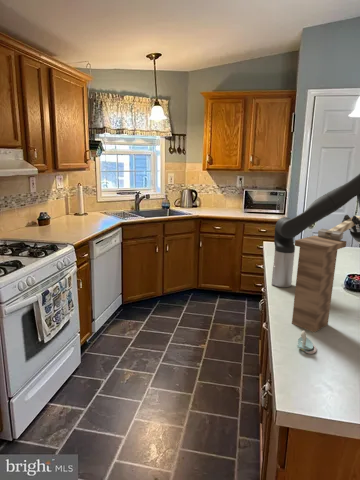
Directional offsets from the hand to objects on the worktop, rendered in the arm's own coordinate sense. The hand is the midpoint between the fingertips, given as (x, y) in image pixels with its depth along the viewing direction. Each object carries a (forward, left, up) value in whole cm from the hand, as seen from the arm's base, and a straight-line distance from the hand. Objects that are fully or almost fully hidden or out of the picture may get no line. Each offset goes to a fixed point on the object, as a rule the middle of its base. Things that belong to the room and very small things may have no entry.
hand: (349, 217), depth 136 cm
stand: (-11, -19, -39) cm, 44 cm away
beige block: (-2, -3, -4) cm, 6 cm away
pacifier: (-13, -39, -39) cm, 56 cm away
